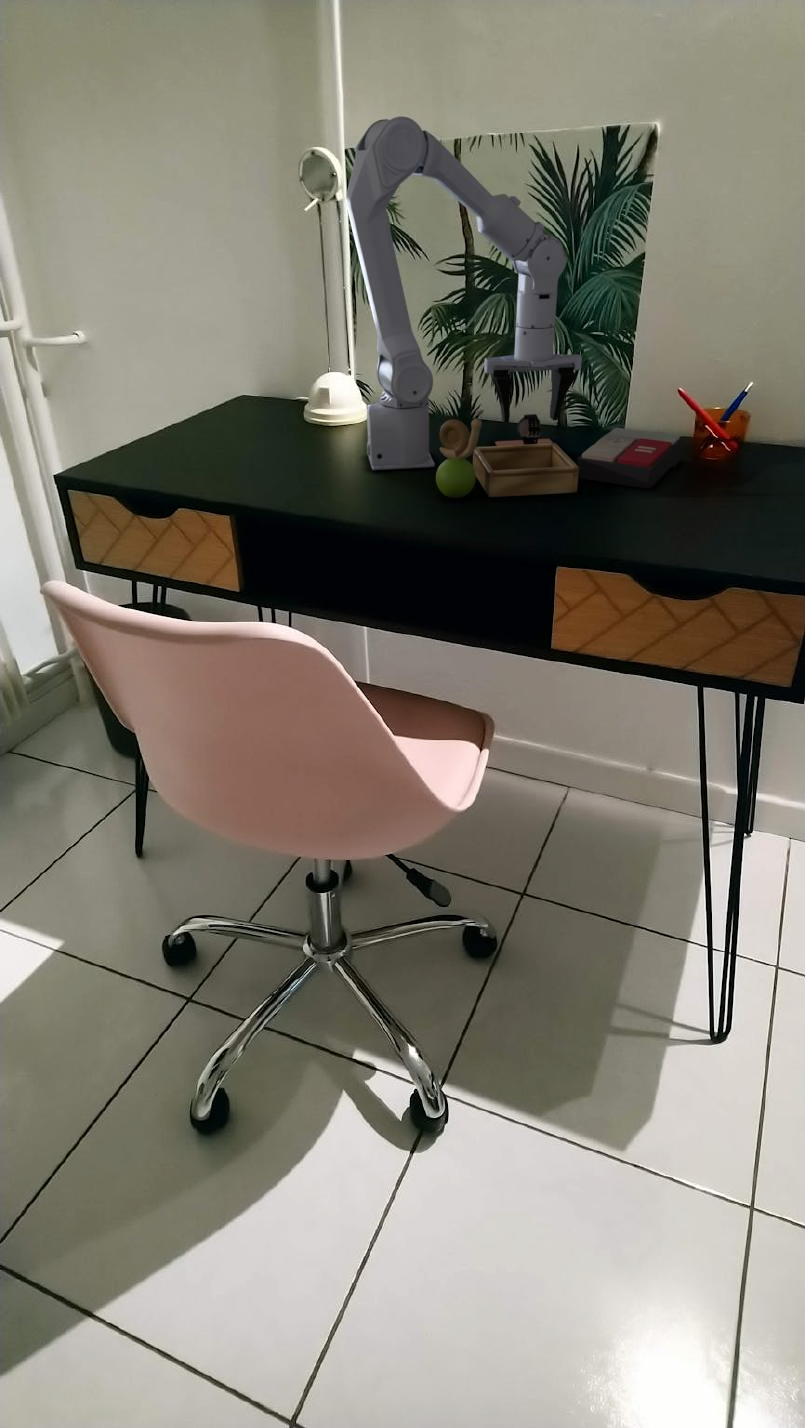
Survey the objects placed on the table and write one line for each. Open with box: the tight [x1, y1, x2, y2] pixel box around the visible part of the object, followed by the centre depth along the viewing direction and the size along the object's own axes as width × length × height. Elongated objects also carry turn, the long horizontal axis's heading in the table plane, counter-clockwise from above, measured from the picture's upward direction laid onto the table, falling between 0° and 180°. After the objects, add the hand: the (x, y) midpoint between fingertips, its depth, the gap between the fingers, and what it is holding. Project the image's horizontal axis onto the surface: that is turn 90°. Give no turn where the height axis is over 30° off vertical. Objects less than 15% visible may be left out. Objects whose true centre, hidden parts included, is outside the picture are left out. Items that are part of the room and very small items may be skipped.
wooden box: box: [472, 442, 579, 498], centre depth 127 cm, size 12×12×4 cm
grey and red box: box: [576, 427, 684, 490], centre depth 130 cm, size 11×4×15 cm
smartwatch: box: [516, 413, 541, 445], centre depth 140 cm, size 4×5×5 cm
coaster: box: [494, 438, 554, 446], centre depth 141 cm, size 9×9×1 cm
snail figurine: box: [435, 409, 484, 499], centre depth 119 cm, size 5×6×12 cm
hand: (529, 419), depth 139 cm, fingers open, 7 cm apart
